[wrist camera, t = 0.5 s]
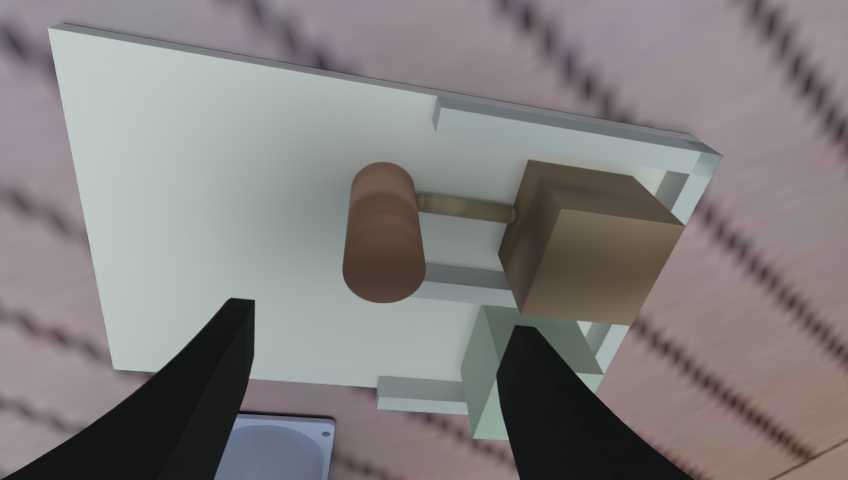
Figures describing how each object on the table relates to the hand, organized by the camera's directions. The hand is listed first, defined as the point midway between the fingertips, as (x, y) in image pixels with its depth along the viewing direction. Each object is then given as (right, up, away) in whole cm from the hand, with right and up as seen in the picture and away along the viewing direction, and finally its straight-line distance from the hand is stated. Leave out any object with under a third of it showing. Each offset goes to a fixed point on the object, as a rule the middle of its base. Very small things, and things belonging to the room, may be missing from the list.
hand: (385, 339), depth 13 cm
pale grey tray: (-1, +2, +11) cm, 11 cm away
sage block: (+6, -3, +13) cm, 15 cm away
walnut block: (+4, +4, +9) cm, 10 cm away
